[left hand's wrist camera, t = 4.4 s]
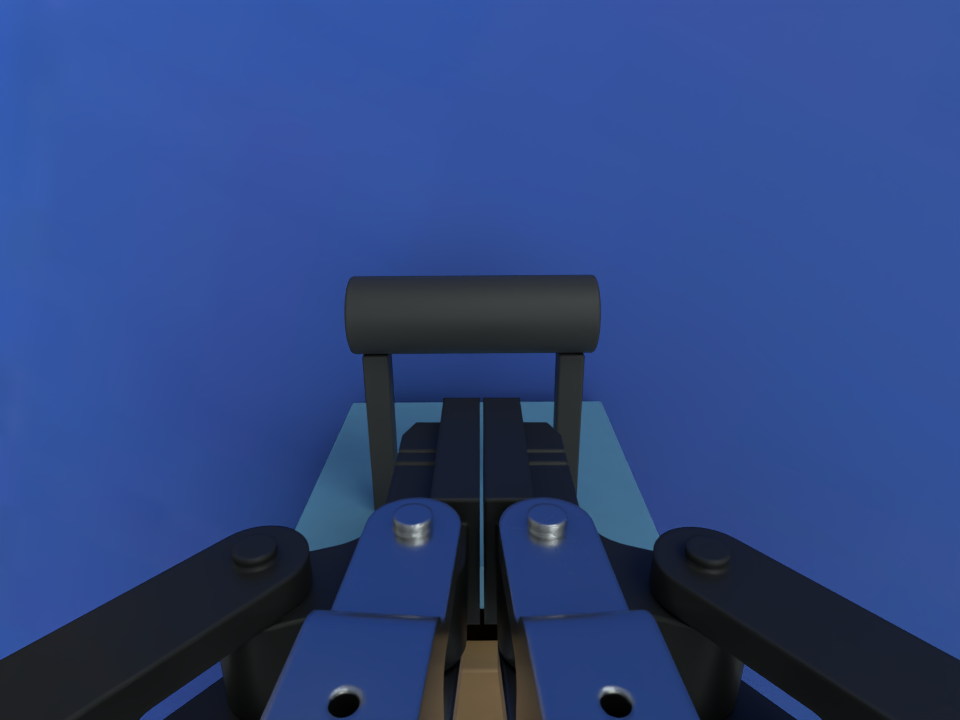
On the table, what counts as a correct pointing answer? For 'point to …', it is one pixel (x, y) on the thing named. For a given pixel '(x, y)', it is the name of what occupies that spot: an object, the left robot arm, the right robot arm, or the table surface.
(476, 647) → the wooden storage box
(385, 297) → the drawer
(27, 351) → the table surface
